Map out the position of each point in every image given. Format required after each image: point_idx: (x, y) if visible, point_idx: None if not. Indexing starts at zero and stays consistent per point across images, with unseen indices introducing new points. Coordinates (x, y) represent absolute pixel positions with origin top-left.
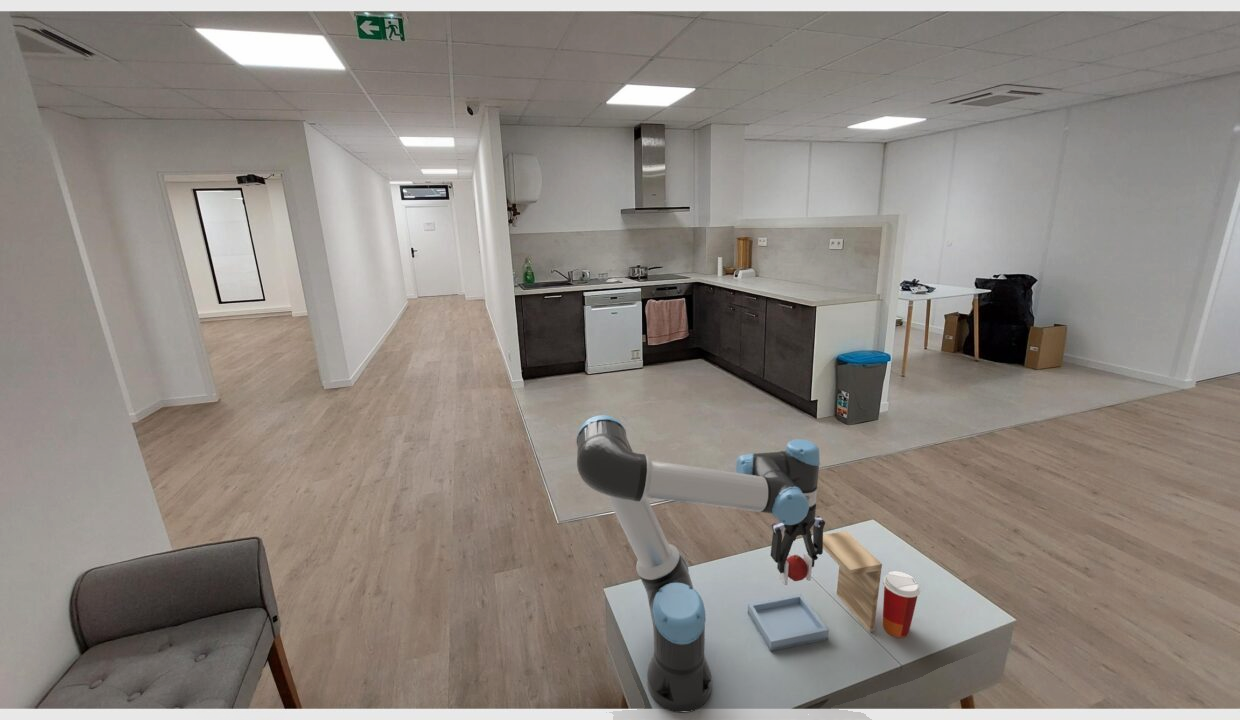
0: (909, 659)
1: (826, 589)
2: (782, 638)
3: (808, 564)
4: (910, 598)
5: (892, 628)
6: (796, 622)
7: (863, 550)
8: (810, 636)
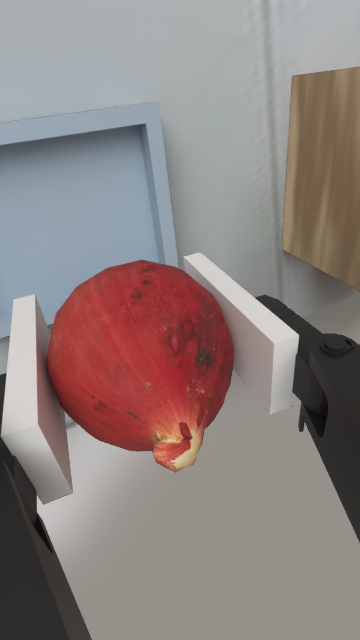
0: (305, 316)
1: (274, 37)
2: None
3: (241, 372)
4: None
5: None
6: (95, 226)
7: None
8: None
